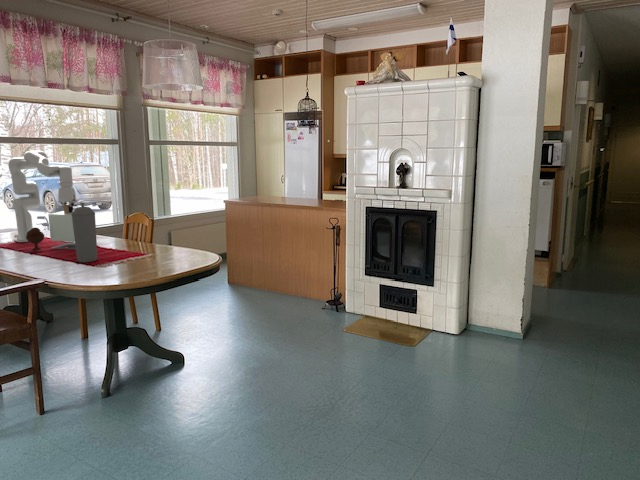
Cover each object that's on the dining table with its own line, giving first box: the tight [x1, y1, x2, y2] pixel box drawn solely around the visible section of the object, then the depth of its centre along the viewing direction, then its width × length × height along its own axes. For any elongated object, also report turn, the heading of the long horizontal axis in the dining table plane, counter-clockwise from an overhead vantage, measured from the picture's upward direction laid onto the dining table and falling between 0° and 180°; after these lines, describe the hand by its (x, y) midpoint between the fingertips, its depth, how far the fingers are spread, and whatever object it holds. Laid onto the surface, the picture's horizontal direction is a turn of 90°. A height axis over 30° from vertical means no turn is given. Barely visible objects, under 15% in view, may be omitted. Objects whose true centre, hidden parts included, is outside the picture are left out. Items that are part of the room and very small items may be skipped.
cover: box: [47, 203, 75, 243], centre depth 327 cm, size 17×17×24 cm
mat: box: [51, 242, 76, 250], centre depth 330 cm, size 20×20×1 cm
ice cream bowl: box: [26, 227, 45, 251], centre depth 317 cm, size 11×11×15 cm
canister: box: [71, 202, 98, 263], centre depth 285 cm, size 13×13×35 cm
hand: (68, 211), depth 326 cm, fingers closed on cover, 3 cm apart
